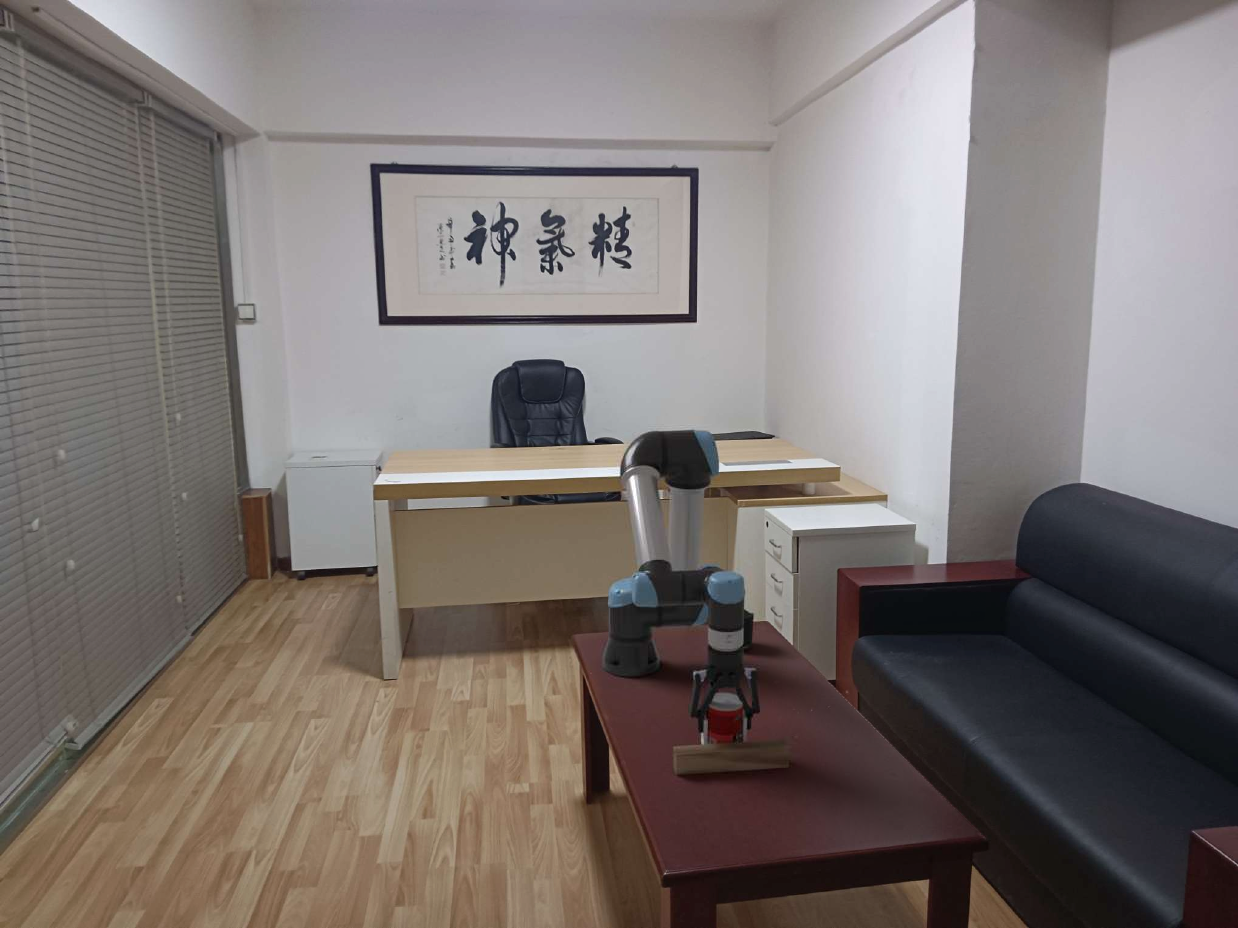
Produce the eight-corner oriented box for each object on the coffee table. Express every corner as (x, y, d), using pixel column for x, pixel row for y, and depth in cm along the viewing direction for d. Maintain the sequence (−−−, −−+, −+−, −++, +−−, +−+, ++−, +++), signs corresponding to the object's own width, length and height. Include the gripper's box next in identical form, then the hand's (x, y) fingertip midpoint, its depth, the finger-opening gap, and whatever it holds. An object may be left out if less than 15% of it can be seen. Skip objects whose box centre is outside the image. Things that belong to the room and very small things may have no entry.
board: (673, 766, 188) (673, 746, 187) (783, 758, 191) (784, 739, 190) (676, 774, 185) (676, 754, 184) (788, 766, 187) (789, 747, 186)
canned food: (740, 757, 189) (742, 709, 187) (703, 754, 191) (704, 706, 189) (743, 740, 197) (744, 693, 195) (707, 736, 198) (707, 690, 196)
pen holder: (718, 651, 247) (718, 617, 245) (720, 639, 256) (720, 606, 254) (752, 654, 246) (753, 619, 244) (753, 641, 255) (754, 607, 253)
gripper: (680, 654, 184) (679, 755, 189) (778, 649, 187) (775, 749, 191) (674, 640, 192) (673, 738, 196) (768, 635, 194) (765, 732, 199)
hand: (723, 743), depth 194 cm, fingers closed on canned food, 8 cm apart
